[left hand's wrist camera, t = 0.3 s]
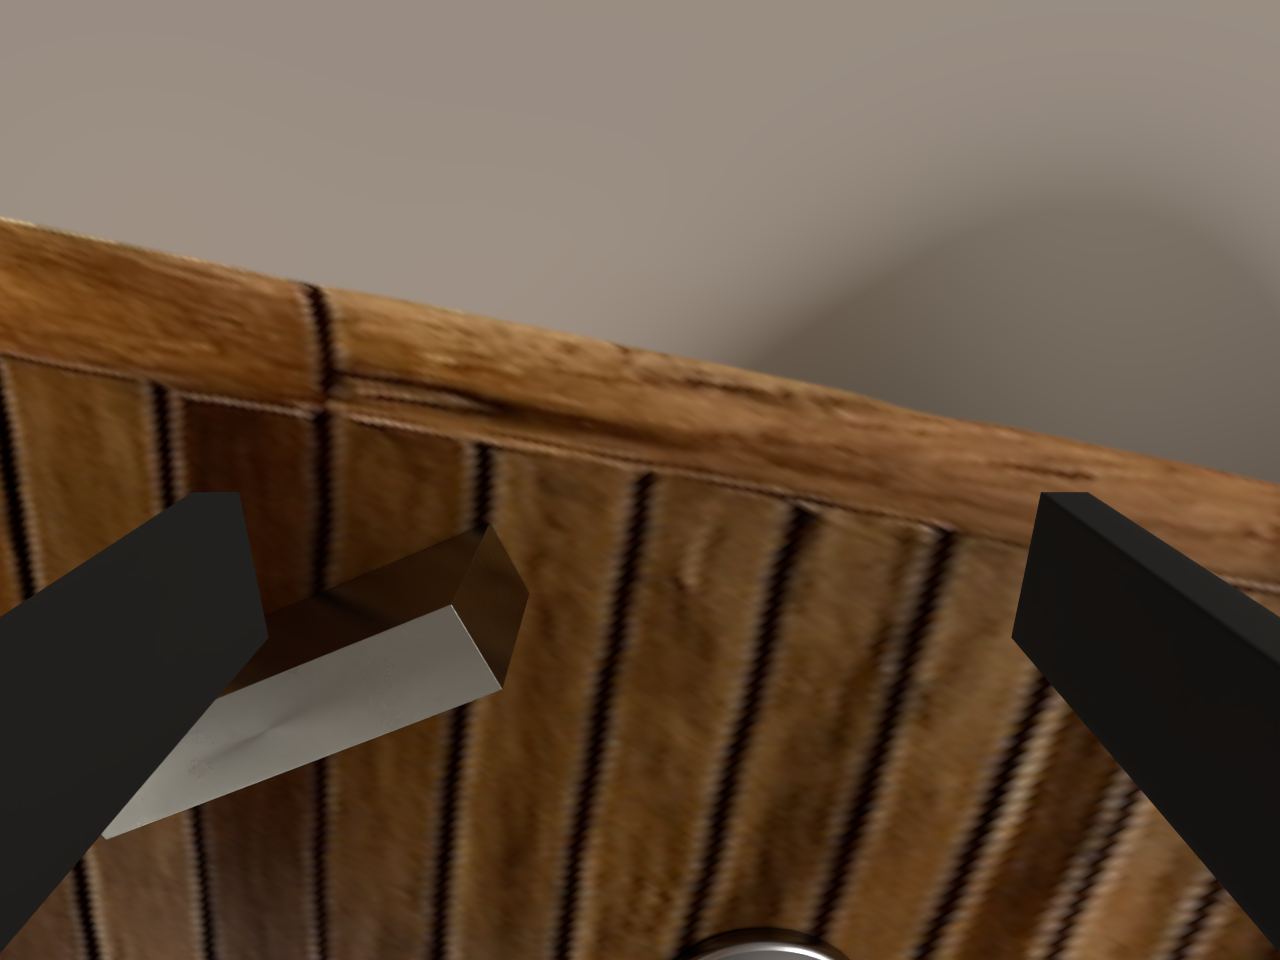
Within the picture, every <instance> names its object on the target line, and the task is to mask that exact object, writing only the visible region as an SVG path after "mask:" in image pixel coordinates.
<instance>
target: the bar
mask: <svg viewBox="0 0 1280 960" xmlns="http://www.w3.org/2000/svg"><path fill="white" fill-rule="evenodd" d="M528 596H529V592H528V590H527V588H526V587H525V585H524V583H523V581H522V579H521V578H520V576H519V574H518V572H517V570H516V569H515V567H514V565H513V563H512V561H511V560H510V558H509V556H508V554H507V553H506V551H505V549H504V547H503V545H502V544H501V542H500V540H499V538H498V536H497V535H496V533H495V531H494V529H493V527H492V526H491V524H490V523H487V524H485V525H483V526H480V527H478V528H475V529H473V530H471V531H468V532H466V533H463V534H461V535H459V536H456V537H454V538H451V539H449V540H447V541H444V542H442V543H439V544H437V545H435V546H432V547H430V548H427V549H425V550H423V551H420V552H418V553H415V554H413V555H411V556H408V557H406V558H403V559H401V560H399V561H396V562H394V563H391V564H389V565H386V566H384V567H382V568H379V569H377V570H374V571H372V572H370V573H367V574H365V575H362V576H360V577H358V578H355V579H353V580H350V581H348V582H346V583H343V584H341V585H338V586H336V587H334V588H331V589H329V590H326V591H324V592H322V593H319V594H317V595H314V596H312V597H310V598H307V599H305V600H302V601H300V602H298V603H295V604H293V605H290V606H288V607H286V608H283V609H281V610H278V611H276V612H274V613H271V614H269V615H266V616H264V617H265V622H266V627H267V632H268V637H269V638H268V639H267V640H266V641H265V642H264V643H263V645H262V646H261V647H260V648H259V649H258V651H257V652H256V653H255V654H254V655H253V656H252V658H251V659H250V660H249V661H248V662H247V663H246V665H245V666H244V667H243V668H242V669H241V670H240V672H239V673H238V674H237V675H236V676H235V678H234V679H233V680H232V681H231V682H230V683H229V685H228V686H227V687H226V688H225V689H224V690H223V692H222V693H221V694H220V695H219V696H218V698H217V699H216V700H215V701H214V702H213V703H212V705H211V706H210V707H209V708H208V709H207V710H206V712H205V713H204V714H203V715H202V716H201V718H200V719H199V720H198V721H197V722H196V723H195V725H194V726H193V727H192V728H191V729H190V730H189V732H188V733H187V734H186V735H185V736H184V737H183V739H182V740H181V741H180V742H179V743H178V745H177V746H176V747H175V748H174V749H173V750H172V752H171V753H170V754H169V755H168V756H167V757H166V759H165V760H164V761H163V762H162V763H161V765H160V766H159V767H158V768H157V769H156V770H155V772H154V773H153V774H152V775H151V776H150V777H149V779H148V780H147V781H146V782H145V783H144V784H143V786H142V787H141V788H140V789H139V790H138V792H137V793H136V794H135V795H134V796H133V797H132V799H131V800H130V801H129V802H128V803H127V804H126V806H125V807H124V808H123V809H122V810H121V812H120V813H119V814H118V815H117V816H116V817H115V819H114V820H113V821H112V822H111V823H110V824H109V826H108V827H107V828H106V829H105V830H104V831H103V833H102V834H101V835H102V836H103V837H104V838H105V839H109V838H112V837H115V836H117V835H120V834H122V833H125V832H128V831H130V830H133V829H136V828H138V827H141V826H144V825H146V824H149V823H151V822H154V821H157V820H159V819H162V818H165V817H167V816H170V815H173V814H175V813H178V812H180V811H183V810H186V809H188V808H191V807H194V806H196V805H199V804H202V803H204V802H207V801H209V800H212V799H215V798H217V797H220V796H223V795H225V794H228V793H231V792H233V791H236V790H238V789H241V788H244V787H246V786H249V785H252V784H254V783H257V782H260V781H262V780H265V779H267V778H270V777H273V776H275V775H278V774H281V773H283V772H286V771H289V770H291V769H294V768H296V767H299V766H302V765H304V764H307V763H310V762H312V761H315V760H318V759H320V758H323V757H325V756H328V755H331V754H333V753H336V752H339V751H341V750H344V749H347V748H349V747H352V746H354V745H357V744H360V743H362V742H365V741H368V740H370V739H373V738H376V737H378V736H381V735H383V734H386V733H389V732H391V731H394V730H397V729H399V728H402V727H405V726H407V725H410V724H412V723H415V722H418V721H420V720H423V719H426V718H428V717H431V716H434V715H436V714H439V713H441V712H444V711H447V710H449V709H452V708H455V707H457V706H460V705H463V704H465V703H468V702H470V701H473V700H476V699H478V698H481V697H484V696H486V695H489V694H492V693H494V692H497V691H499V690H502V688H503V685H504V681H505V678H506V674H507V671H508V667H509V664H510V660H511V656H512V653H513V649H514V646H515V642H516V639H517V635H518V632H519V628H520V625H521V621H522V617H523V614H524V610H525V607H526V603H527V600H528Z"/></svg>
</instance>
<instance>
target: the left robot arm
mask: <svg viewBox="0 0 1280 960" xmlns="http://www.w3.org/2000/svg"><path fill="white" fill-rule="evenodd" d="M268 638H269V637H268V632H267V627H266V622H265V617H264V613H263V608H262V603H261V598H260V593H259V588H258V583H257V578H256V573H255V568H254V564H253V559H252V554H251V549H250V544H249V539H248V534H247V529H246V524H245V520H244V515H243V510H242V505H241V500H240V495H239V492H192V493H190V494H189V495H187V496H186V497H184V498H183V499H181V500H180V501H178V502H177V503H175V504H173V505H172V506H170V507H169V508H167V509H166V510H164V511H163V512H161V513H160V514H158V515H157V516H155V517H153V518H152V519H150V520H149V521H147V522H146V523H144V524H143V525H141V526H140V527H138V528H137V529H135V530H133V531H132V532H130V533H129V534H127V535H126V536H124V537H123V538H121V539H120V540H118V541H117V542H115V543H113V544H112V545H110V546H109V547H107V548H106V549H104V550H103V551H101V552H100V553H98V554H97V555H95V556H93V557H92V558H90V559H89V560H87V561H86V562H84V563H83V564H81V565H80V566H78V567H77V568H75V569H74V570H72V571H70V572H69V573H67V574H66V575H64V576H63V577H61V578H60V579H58V580H57V581H55V582H54V583H52V584H50V585H49V586H47V587H46V588H44V589H43V590H41V591H40V592H38V593H37V594H35V595H34V596H32V597H30V598H29V599H27V600H26V601H24V602H23V603H21V604H20V605H18V606H17V607H15V608H14V609H12V610H10V611H9V612H7V613H6V614H4V615H3V616H1V617H0V953H1V951H2V950H3V949H4V948H5V947H6V945H7V944H8V943H9V942H10V941H11V940H12V938H13V937H14V936H15V935H16V934H17V933H18V931H19V930H20V929H21V928H22V927H23V926H24V924H25V923H26V922H27V921H28V920H29V918H30V917H31V916H32V915H33V914H34V913H35V911H36V910H37V909H38V908H39V907H40V906H41V904H42V903H43V902H44V901H45V900H46V898H47V897H48V896H49V895H50V894H51V893H52V891H53V890H54V889H55V888H56V887H57V886H58V884H59V883H60V882H61V881H62V880H63V879H64V877H65V876H66V875H67V874H68V873H69V871H70V870H71V869H72V868H73V867H74V866H75V864H76V863H77V862H78V861H79V860H80V859H81V857H82V856H83V855H84V854H85V853H86V851H87V850H88V849H89V848H90V847H91V846H92V844H93V843H94V842H95V841H96V840H97V839H98V837H99V836H100V835H101V834H102V833H103V831H104V830H105V829H106V828H107V827H108V826H109V824H110V823H111V822H112V821H113V820H114V819H115V817H116V816H117V815H118V814H119V813H120V812H121V810H122V809H123V808H124V807H125V806H126V804H127V803H128V802H129V801H130V800H131V799H132V797H133V796H134V795H135V794H136V793H137V792H138V790H139V789H140V788H141V787H142V786H143V784H144V783H145V782H146V781H147V780H148V779H149V777H150V776H151V775H152V774H153V773H154V772H155V770H156V769H157V768H158V767H159V766H160V765H161V763H162V762H163V761H164V760H165V759H166V757H167V756H168V755H169V754H170V753H171V752H172V750H173V749H174V748H175V747H176V746H177V745H178V743H179V742H180V741H181V740H182V739H183V737H184V736H185V735H186V734H187V733H188V732H189V730H190V729H191V728H192V727H193V726H194V725H195V723H196V722H197V721H198V720H199V719H200V718H201V716H202V715H203V714H204V713H205V712H206V710H207V709H208V708H209V707H210V706H211V705H212V703H213V702H214V701H215V700H216V699H217V698H218V696H219V695H220V694H221V693H222V692H223V690H224V689H225V688H226V687H227V686H228V685H229V683H230V682H231V681H232V680H233V679H234V678H235V676H236V675H237V674H238V673H239V672H240V670H241V669H242V668H243V667H244V666H245V665H246V663H247V662H248V661H249V660H250V659H251V658H252V656H253V655H254V654H255V653H256V652H257V651H258V649H259V648H260V647H261V646H262V645H263V643H264V642H265V641H266V640H267V639H268ZM1011 638H1012V639H1013V640H1014V641H1015V642H1016V643H1017V645H1018V646H1019V647H1020V648H1021V649H1022V651H1023V652H1024V653H1025V654H1026V655H1027V656H1028V658H1029V659H1030V660H1031V661H1032V662H1033V663H1034V665H1035V666H1036V667H1037V668H1038V669H1039V670H1040V672H1041V673H1042V674H1043V675H1044V676H1045V678H1046V679H1047V680H1048V681H1049V682H1050V683H1051V685H1052V686H1053V687H1054V688H1055V689H1056V690H1057V692H1058V693H1059V694H1060V695H1061V696H1062V698H1063V699H1064V700H1065V701H1066V702H1067V703H1068V705H1069V706H1070V707H1071V708H1072V709H1073V710H1074V712H1075V713H1076V714H1077V715H1078V716H1079V718H1080V719H1081V720H1082V721H1083V722H1084V723H1085V725H1086V726H1087V727H1088V728H1089V729H1090V730H1091V732H1092V733H1093V734H1094V735H1095V736H1096V737H1097V739H1098V740H1099V741H1100V742H1101V743H1102V745H1103V746H1104V747H1105V748H1106V749H1107V750H1108V752H1109V753H1110V754H1111V755H1112V756H1113V757H1114V759H1115V760H1116V761H1117V762H1118V763H1119V765H1120V766H1121V767H1122V768H1123V769H1124V770H1125V772H1126V773H1127V774H1128V775H1129V776H1130V777H1131V779H1132V780H1133V781H1134V782H1135V783H1136V784H1137V786H1138V787H1139V788H1140V789H1141V790H1142V792H1143V793H1144V794H1145V795H1146V796H1147V797H1148V799H1149V800H1150V801H1151V802H1152V803H1153V804H1154V806H1155V807H1156V808H1157V809H1158V810H1159V812H1160V813H1161V814H1162V815H1163V816H1164V817H1165V819H1166V820H1167V821H1168V822H1169V823H1170V824H1171V826H1172V827H1173V828H1174V829H1175V830H1176V831H1177V833H1178V834H1179V835H1180V836H1181V837H1182V839H1183V840H1184V841H1185V842H1186V843H1187V844H1188V846H1189V847H1190V848H1191V849H1192V850H1193V851H1194V853H1195V854H1196V855H1197V856H1198V857H1199V859H1200V860H1201V861H1202V862H1203V863H1204V864H1205V866H1206V867H1207V868H1208V869H1209V870H1210V871H1211V873H1212V874H1213V875H1214V876H1215V877H1216V879H1217V880H1218V881H1219V882H1220V883H1221V884H1222V886H1223V887H1224V888H1225V889H1226V890H1227V891H1228V893H1229V894H1230V895H1231V896H1232V897H1233V898H1234V900H1235V901H1236V902H1237V903H1238V904H1239V906H1240V907H1241V908H1242V909H1243V910H1244V911H1245V913H1246V914H1247V915H1248V916H1249V917H1250V918H1251V920H1252V921H1253V922H1254V923H1255V924H1256V926H1257V927H1258V928H1259V929H1260V930H1261V931H1262V933H1263V934H1264V935H1265V936H1266V937H1267V938H1268V940H1269V941H1270V942H1271V943H1272V944H1273V945H1274V947H1275V948H1276V949H1277V950H1278V951H1279V953H1280V617H1279V616H1277V615H1276V614H1274V613H1273V612H1271V611H1270V610H1268V609H1266V608H1265V607H1263V606H1262V605H1260V604H1259V603H1257V602H1256V601H1254V600H1253V599H1251V598H1250V597H1248V596H1246V595H1245V594H1243V593H1242V592H1240V591H1239V590H1237V589H1236V588H1234V587H1233V586H1231V585H1230V584H1228V583H1226V582H1225V581H1223V580H1222V579H1220V578H1219V577H1217V576H1216V575H1214V574H1213V573H1211V572H1210V571H1208V570H1206V569H1205V568H1203V567H1202V566H1200V565H1199V564H1197V563H1196V562H1194V561H1193V560H1191V559H1190V558H1188V557H1187V556H1185V555H1183V554H1182V553H1180V552H1179V551H1177V550H1176V549H1174V548H1173V547H1171V546H1170V545H1168V544H1167V543H1165V542H1163V541H1162V540H1160V539H1159V538H1157V537H1156V536H1154V535H1153V534H1151V533H1150V532H1148V531H1147V530H1145V529H1143V528H1142V527H1140V526H1139V525H1137V524H1136V523H1134V522H1133V521H1131V520H1130V519H1128V518H1127V517H1125V516H1123V515H1122V514H1120V513H1119V512H1117V511H1116V510H1114V509H1113V508H1111V507H1110V506H1108V505H1107V504H1105V503H1103V502H1102V501H1100V500H1099V499H1097V498H1096V497H1094V496H1093V495H1091V494H1090V493H1088V492H1041V495H1040V500H1039V505H1038V510H1037V515H1036V520H1035V524H1034V529H1033V534H1032V539H1031V544H1030V549H1029V554H1028V559H1027V564H1026V568H1025V573H1024V578H1023V583H1022V588H1021V593H1020V598H1019V603H1018V608H1017V613H1016V617H1015V622H1014V627H1013V632H1012V637H1011ZM678 960H849V959H848V957H846V956H845V955H844V954H843V953H842V952H841V951H839V950H838V949H837V948H835V947H834V946H832V945H830V944H829V943H827V942H825V941H823V940H820V939H818V938H816V937H813V936H810V935H807V934H804V933H800V932H795V931H790V930H782V929H750V930H742V931H736V932H732V933H728V934H724V935H721V936H718V937H715V938H712V939H710V940H708V941H705V942H703V943H701V944H699V945H697V946H696V947H694V948H692V949H691V950H689V951H688V952H686V953H685V954H684V955H682V956H681V957H680V958H679V959H678Z"/></svg>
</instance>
